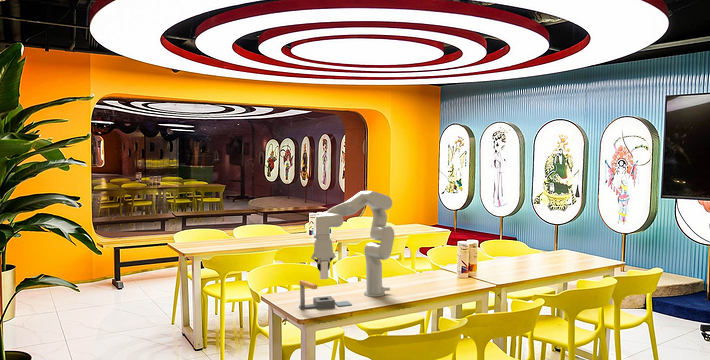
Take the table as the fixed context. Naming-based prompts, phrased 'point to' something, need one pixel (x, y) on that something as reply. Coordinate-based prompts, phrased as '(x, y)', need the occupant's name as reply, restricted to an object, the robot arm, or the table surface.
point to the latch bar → (308, 284)
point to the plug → (324, 268)
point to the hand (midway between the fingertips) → (323, 269)
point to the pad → (343, 303)
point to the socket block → (316, 301)
